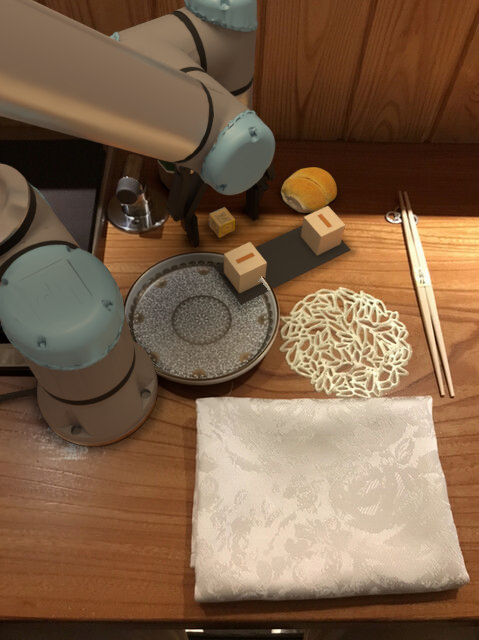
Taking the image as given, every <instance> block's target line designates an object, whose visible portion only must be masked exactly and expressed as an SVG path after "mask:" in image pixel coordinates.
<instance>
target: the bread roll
mask: <svg viewBox="0 0 479 640" xmlns="http://www.w3.org/2000/svg"><path fill="white" fill-rule="evenodd" d="M280 195H281V197H282V200H283V202H284V203H285V204H286V205H288V206H289V207H290V209H293V210H295V211H296V212H298V213H300V214H311V213H314V212H316V211H318V210H320V209H322V208H324V207H327V206H328V205H329V204H330V203H332V202H333V201H334V200H335V199H336V197H337V195H338V187H337V183H336V181H335V179H334V177H333V176H332V175H331V174H330V173H329V172H328V171H326V170H324V169H323V168H320V167H314V166H313V167H305V168H300V169H298V170H295V172H294V173H292V174H291V175H290V176H289V177H288V178H287V179H285V180H284V182H283V184H282V186H281V190H280Z"/></svg>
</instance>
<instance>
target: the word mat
mask: <svg viewBox="0 0 479 640" xmlns="http://www.w3.org/2000/svg"><path fill="white" fill-rule="evenodd" d="M302 226H303V224H302V225H300V226H298V227H295V228H294V229H291V230H289V231H287V232H285V233H283V234H281V235H279V236H276V237H274V238H271V239H270V240H267V241H266V242H263V243H261V244H259V245H257V246H254V247H255V248H256V250H257V251H258V252H259V253H260V255H261V256H262V257H263V259H264V260H265V261H266V262H267V266H266V276H265V280H266V281H267V282H268V283H269V285H270V286H271V288H272V290H275V289H276V288H278V287H280V286H282V285H284V284H286V283H288V282H290V281H292V280H294V279H297V278H298V277H300V276H302V275H304V274H307V273H309V272H310V271H313V270H315V269H316V268H318V267H320V266H322V265H324V264H326V263H328V262H330V261H332V260H334V259H336V258H338V257H340V256H343V255H345V254H347V253H348V252H351V251H352V250H351V248H350V247H349V246H348V245H347V243H345V242H344V240H343V239H342V240H341V244H340V245H338V246H336V247H334V248H332V249H330V250H328V251H326V252H323V253H321V254H319V255H316V254H315V253H314V251H313V250H312V249H311V248H310V247H309V246H308V244H307V243H306V242H305V241H304V240H303V239H302V237H301V231H302ZM213 268H214V269H215V272H216V273H217V274H218V276H220V278H221V280H222V281H223V282H224V284H225V285H226V286H227V288H228V289H229V291H230V292H231V293H232V294H233V296H234V297H235V299H236V300H237V301H238V303H239V304H240V305H244V304H245V303H248V302H250V301H252V300H254V299H256V298H257V297H260V296H262V295H264V294H266V293H268V292H269V291H268V290H267V288H266V287H265V286H264V285H263V283H260V284H258V285H256V286H254V287H252V288H250V289H248V290H246V291H244V292H242V293H239V292H238V291H237V290H236V288H235V287H234V286H233V284H232V283H231V282H230V280H229V279H228V277H227V276H226V275H225V273H224V261H222V262H220V263H218V264H216V265H214V266H213Z"/></svg>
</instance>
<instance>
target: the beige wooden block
mask: <svg viewBox="0 0 479 640" xmlns="http://www.w3.org/2000/svg"><path fill="white" fill-rule="evenodd" d="M302 225H303V226H302ZM302 225H301V226H302V231H301V237H302V239H303V240H304V241H305V242H306V243H307V244H308V246H309V247H310V248H311V249H312V250H313V251H314V253H315V254H316V255H319V254H321V253H323V252H326V251H328V250H330V249H332V248H334V247H336V246H338V245H340V244H341V240H342V241H343V236H344V233H345V228H346V223H344V222H343V220H342V219H340V217H339V216H338V215H337V214H336V213H335V212H334V210H332V209H331V207H330V206H329V205H326V206H325V207H324V208H322V209H320V210H318V211H316V212H312V213H308V214H307V215H304V216H303V220H302Z"/></svg>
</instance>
